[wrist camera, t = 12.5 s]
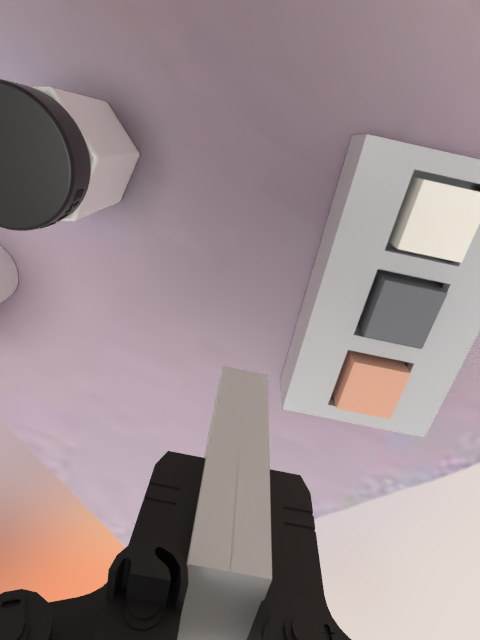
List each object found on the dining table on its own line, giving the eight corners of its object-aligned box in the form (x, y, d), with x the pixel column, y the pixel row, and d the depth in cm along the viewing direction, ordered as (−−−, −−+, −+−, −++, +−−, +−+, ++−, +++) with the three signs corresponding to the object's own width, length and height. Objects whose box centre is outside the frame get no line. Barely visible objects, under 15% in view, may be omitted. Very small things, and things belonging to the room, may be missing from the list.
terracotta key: (347, 345, 36) (354, 362, 33) (399, 356, 36) (410, 373, 33) (331, 389, 38) (336, 408, 35) (380, 399, 38) (389, 419, 35)
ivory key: (409, 176, 30) (423, 179, 27) (471, 190, 30) (493, 194, 27) (385, 239, 32) (397, 249, 29) (444, 252, 32) (461, 262, 29)
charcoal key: (375, 268, 33) (385, 280, 30) (432, 280, 33) (447, 293, 30) (356, 321, 35) (363, 336, 32) (409, 332, 35) (422, 348, 32)
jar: (47, 204, 35) (-50, 232, 24) (26, 101, 32) (-99, 78, 21) (145, 204, 35) (91, 233, 24) (134, 99, 31) (65, 75, 20)
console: (351, 135, 31) (366, 134, 27) (517, 172, 32) (559, 177, 27) (280, 379, 41) (282, 409, 37) (406, 405, 42) (424, 437, 37)
